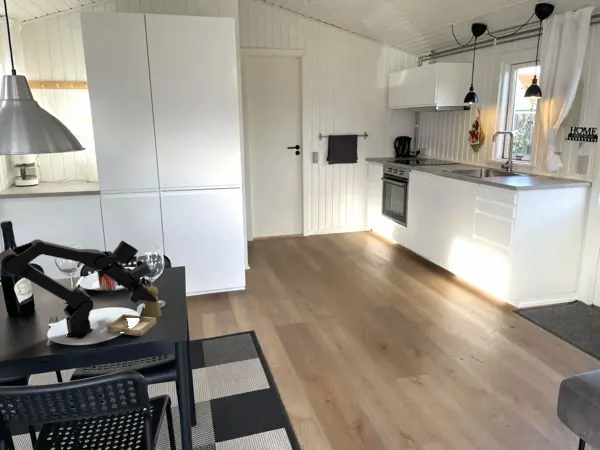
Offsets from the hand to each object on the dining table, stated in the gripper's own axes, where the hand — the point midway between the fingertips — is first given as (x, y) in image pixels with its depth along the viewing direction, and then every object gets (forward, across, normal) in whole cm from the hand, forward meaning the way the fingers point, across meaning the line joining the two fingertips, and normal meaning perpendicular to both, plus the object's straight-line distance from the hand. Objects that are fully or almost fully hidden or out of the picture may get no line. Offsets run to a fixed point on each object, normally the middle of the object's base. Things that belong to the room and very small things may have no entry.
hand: (155, 298), depth 165 cm
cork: (+4, 0, +6) cm, 7 cm away
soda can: (-6, +34, +16) cm, 38 cm away
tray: (-2, -7, +11) cm, 13 cm away
